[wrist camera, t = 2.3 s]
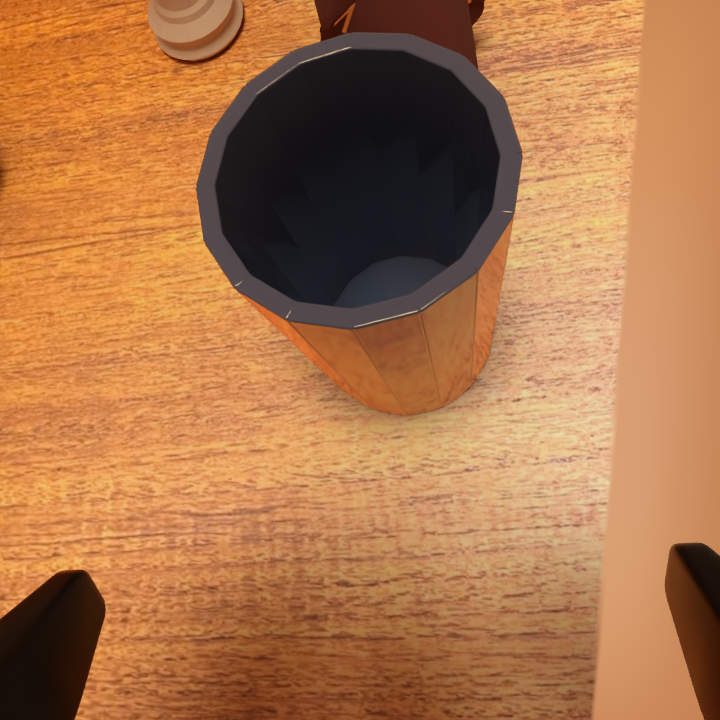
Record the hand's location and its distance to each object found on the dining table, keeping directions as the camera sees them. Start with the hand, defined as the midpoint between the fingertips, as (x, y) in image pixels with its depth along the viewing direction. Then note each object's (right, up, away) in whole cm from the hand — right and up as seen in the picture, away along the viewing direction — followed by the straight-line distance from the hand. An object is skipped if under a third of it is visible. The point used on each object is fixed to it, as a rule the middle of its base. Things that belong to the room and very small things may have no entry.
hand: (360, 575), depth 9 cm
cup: (+2, +4, +15) cm, 16 cm away
